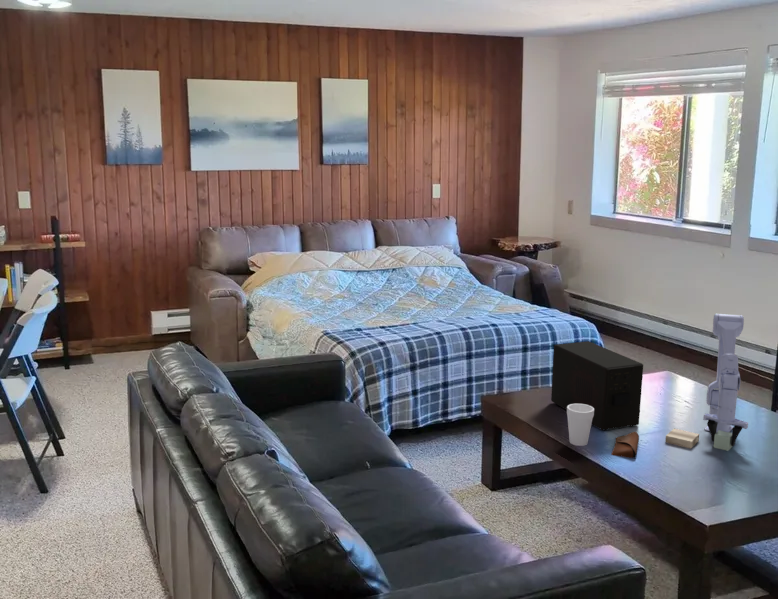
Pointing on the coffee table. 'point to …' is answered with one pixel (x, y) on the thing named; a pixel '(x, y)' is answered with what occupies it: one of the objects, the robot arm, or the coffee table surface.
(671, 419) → the coffee table surface
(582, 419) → the foam cup
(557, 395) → the black rectangular box
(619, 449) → the sunglasses case
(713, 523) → the coffee table surface
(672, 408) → the coffee table surface
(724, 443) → the sage cube
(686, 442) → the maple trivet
